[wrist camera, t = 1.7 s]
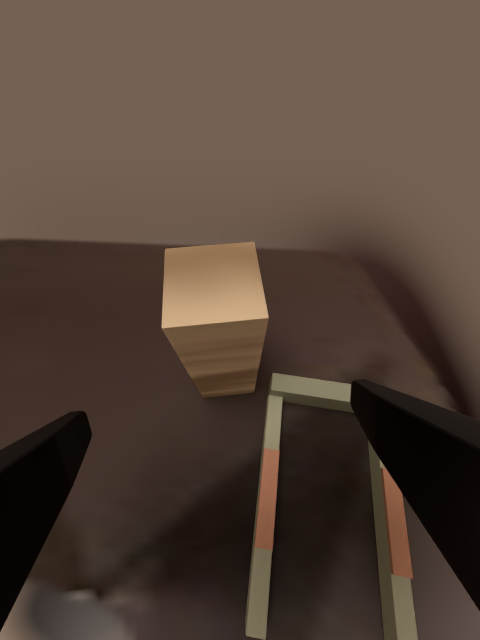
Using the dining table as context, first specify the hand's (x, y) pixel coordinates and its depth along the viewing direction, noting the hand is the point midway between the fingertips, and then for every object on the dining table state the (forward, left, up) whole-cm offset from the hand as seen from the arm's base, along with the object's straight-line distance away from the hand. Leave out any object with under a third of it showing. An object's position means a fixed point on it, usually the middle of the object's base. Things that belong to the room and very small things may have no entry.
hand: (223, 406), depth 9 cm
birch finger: (+4, -2, -11) cm, 12 cm away
